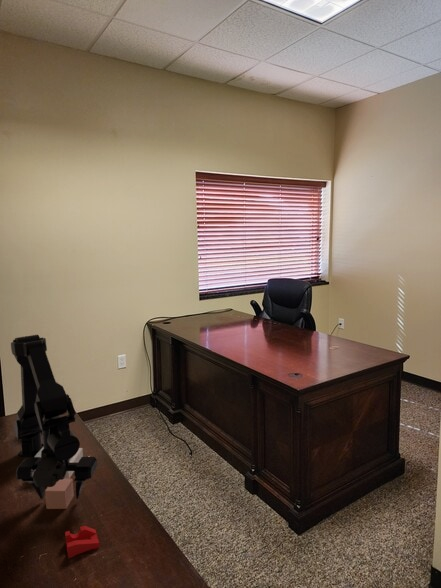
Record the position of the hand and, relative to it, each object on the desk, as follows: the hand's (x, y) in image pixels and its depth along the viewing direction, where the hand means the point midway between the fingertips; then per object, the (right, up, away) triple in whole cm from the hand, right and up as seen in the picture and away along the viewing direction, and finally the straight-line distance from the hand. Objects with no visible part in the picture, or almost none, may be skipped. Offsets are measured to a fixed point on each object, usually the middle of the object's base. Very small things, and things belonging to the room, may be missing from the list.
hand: (60, 497), depth 100 cm
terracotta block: (0, -1, 0) cm, 1 cm away
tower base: (-7, +1, +15) cm, 17 cm away
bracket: (+11, -4, -14) cm, 18 cm away
